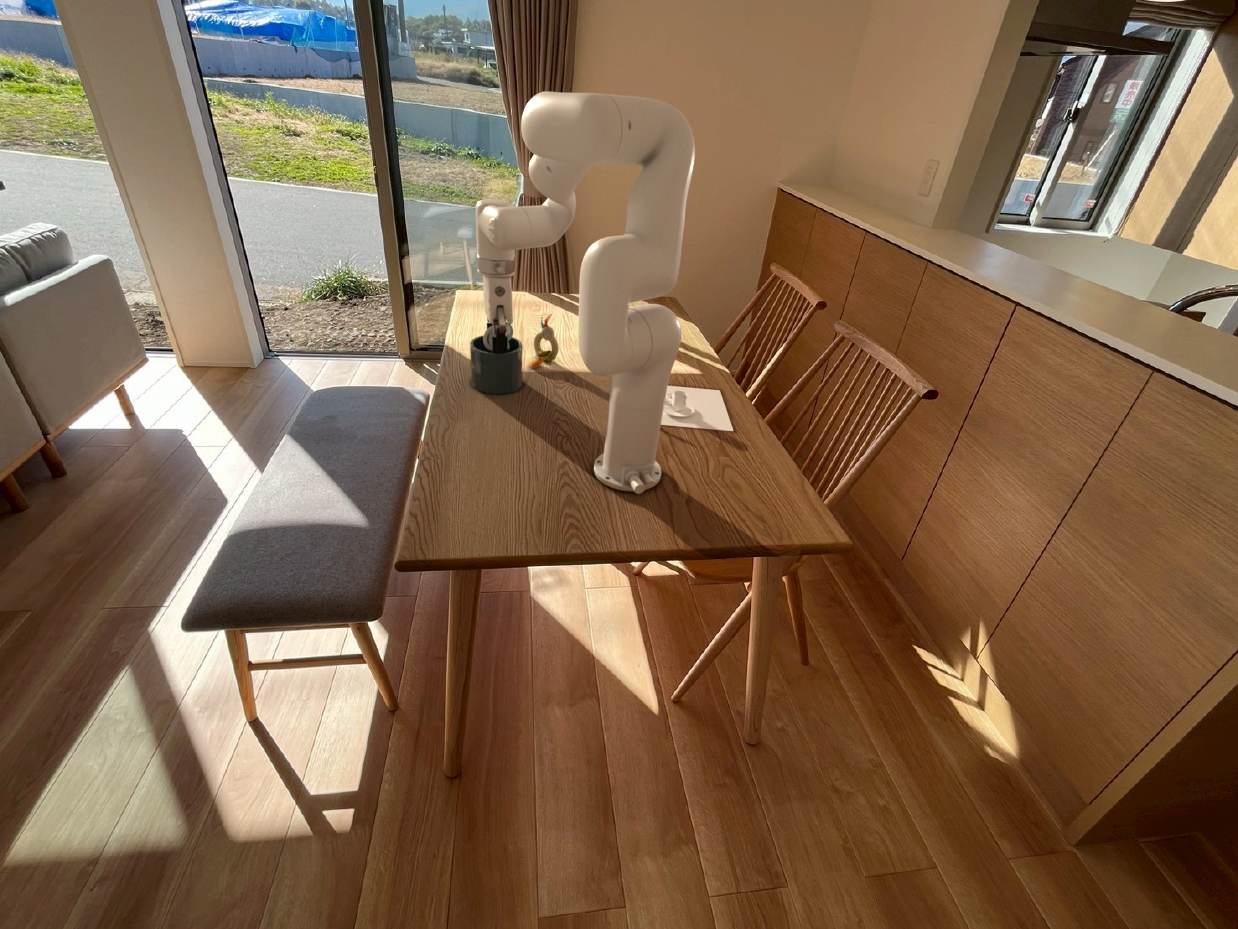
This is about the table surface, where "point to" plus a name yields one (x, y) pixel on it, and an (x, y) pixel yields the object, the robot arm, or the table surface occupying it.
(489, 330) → the pacifier
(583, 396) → the table surface
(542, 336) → the rattle
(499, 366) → the cup
